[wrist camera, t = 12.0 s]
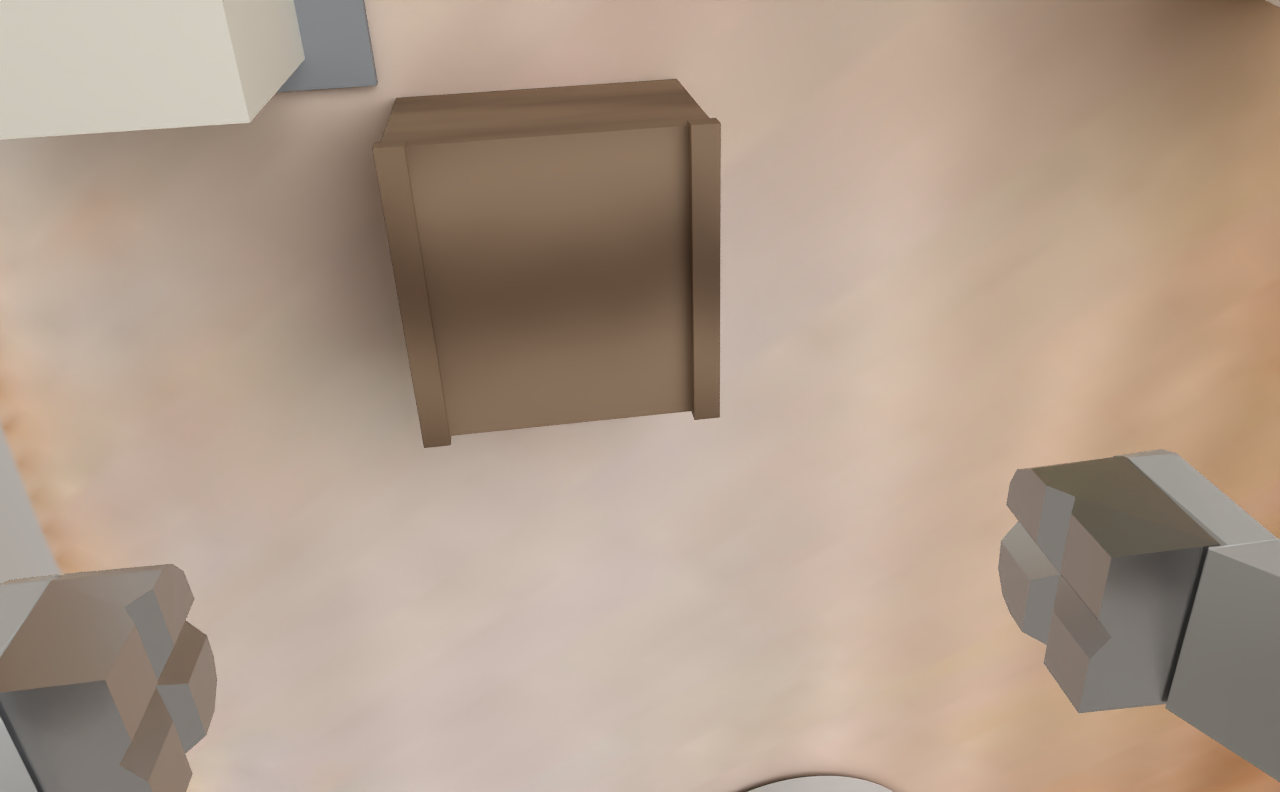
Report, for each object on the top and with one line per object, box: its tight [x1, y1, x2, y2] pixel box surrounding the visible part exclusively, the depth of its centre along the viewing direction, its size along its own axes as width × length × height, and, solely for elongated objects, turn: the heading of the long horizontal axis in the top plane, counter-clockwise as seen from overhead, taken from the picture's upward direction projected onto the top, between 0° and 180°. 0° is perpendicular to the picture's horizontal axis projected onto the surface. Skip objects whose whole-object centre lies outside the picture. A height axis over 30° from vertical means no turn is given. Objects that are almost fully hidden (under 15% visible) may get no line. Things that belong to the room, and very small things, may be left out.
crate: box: [372, 79, 721, 448], centre depth 31 cm, size 9×9×6 cm
